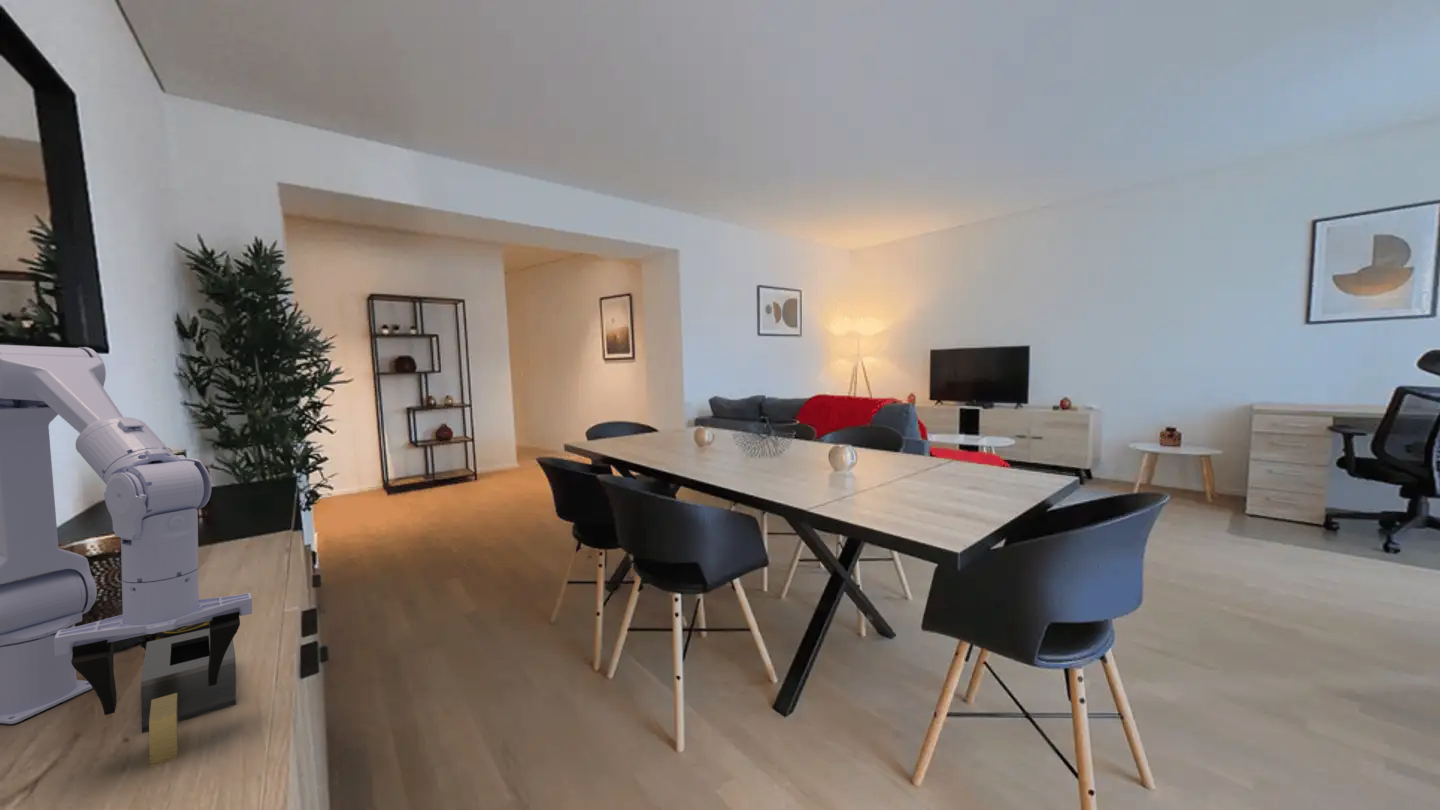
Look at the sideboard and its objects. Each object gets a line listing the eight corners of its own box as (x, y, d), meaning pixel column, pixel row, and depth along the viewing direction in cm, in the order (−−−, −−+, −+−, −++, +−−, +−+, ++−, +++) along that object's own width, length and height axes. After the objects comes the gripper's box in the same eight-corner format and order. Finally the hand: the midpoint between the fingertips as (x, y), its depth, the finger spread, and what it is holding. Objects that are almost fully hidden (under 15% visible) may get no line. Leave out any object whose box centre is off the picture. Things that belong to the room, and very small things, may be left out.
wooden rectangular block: (152, 743, 59) (151, 699, 59) (177, 735, 61) (177, 692, 61) (149, 767, 56) (149, 721, 56) (177, 758, 57) (176, 713, 57)
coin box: (147, 686, 69) (146, 642, 69) (230, 664, 75) (230, 623, 75) (141, 732, 61) (140, 681, 61) (236, 704, 67) (235, 657, 66)
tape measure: (194, 634, 83) (194, 611, 83) (230, 639, 82) (230, 616, 82) (140, 657, 76) (139, 631, 76) (178, 663, 75) (178, 637, 75)
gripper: (46, 603, 49) (51, 744, 50) (253, 567, 60) (255, 685, 60) (59, 581, 54) (63, 709, 55) (248, 551, 65) (250, 660, 65)
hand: (163, 695), depth 58 cm, fingers open, 7 cm apart
